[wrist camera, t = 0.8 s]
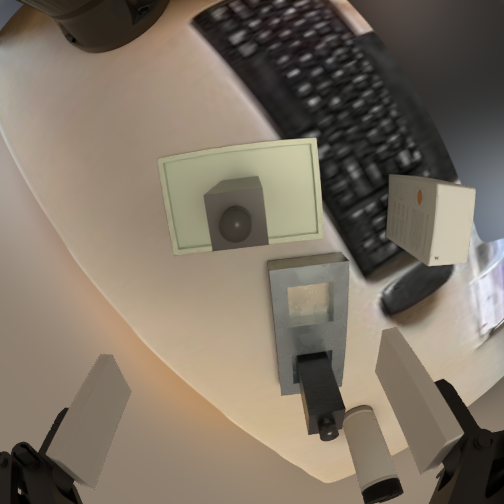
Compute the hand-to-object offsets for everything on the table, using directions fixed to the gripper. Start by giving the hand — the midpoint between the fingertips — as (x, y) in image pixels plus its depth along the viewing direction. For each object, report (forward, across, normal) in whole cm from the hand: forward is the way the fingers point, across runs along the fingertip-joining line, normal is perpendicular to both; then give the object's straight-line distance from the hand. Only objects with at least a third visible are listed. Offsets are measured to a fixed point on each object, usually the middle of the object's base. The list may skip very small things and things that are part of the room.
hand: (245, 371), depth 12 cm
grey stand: (+21, +6, -14) cm, 26 cm away
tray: (+22, 0, +4) cm, 22 cm away
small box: (+22, +20, +2) cm, 30 cm away
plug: (+21, 0, +4) cm, 22 cm away
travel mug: (+21, +16, -36) cm, 45 cm away
